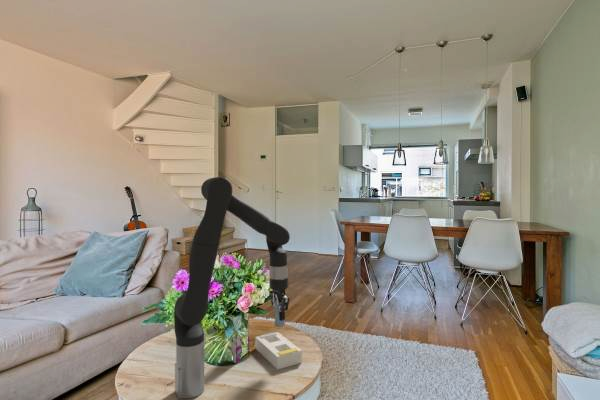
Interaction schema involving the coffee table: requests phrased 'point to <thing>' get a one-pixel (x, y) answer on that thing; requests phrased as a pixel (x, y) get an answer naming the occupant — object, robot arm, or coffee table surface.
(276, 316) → the blue-grey upright block
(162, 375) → the coffee table surface
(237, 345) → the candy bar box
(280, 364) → the socket board
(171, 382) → the coffee table surface
